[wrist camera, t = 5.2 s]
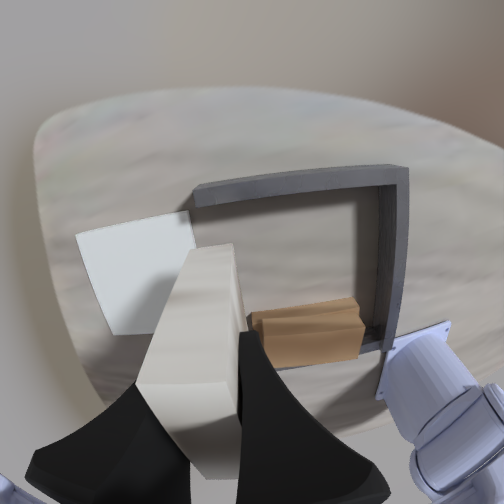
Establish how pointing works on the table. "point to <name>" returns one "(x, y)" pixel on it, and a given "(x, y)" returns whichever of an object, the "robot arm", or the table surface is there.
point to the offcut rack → (390, 226)
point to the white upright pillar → (200, 363)
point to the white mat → (136, 268)
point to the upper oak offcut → (312, 339)
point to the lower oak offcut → (305, 311)
